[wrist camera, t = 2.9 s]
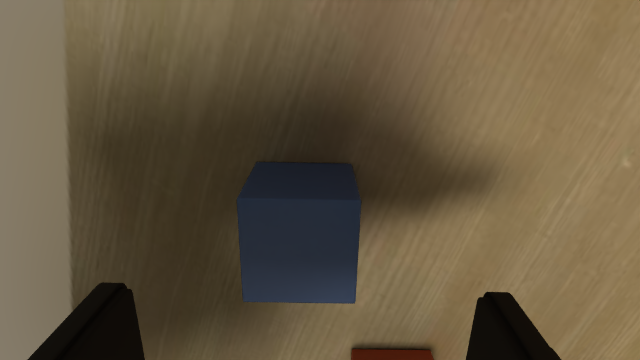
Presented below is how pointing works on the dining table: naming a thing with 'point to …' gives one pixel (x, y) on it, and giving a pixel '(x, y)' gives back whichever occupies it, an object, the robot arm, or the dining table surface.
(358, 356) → the red block
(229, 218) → the dining table surface
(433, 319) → the dining table surface
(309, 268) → the blue block
